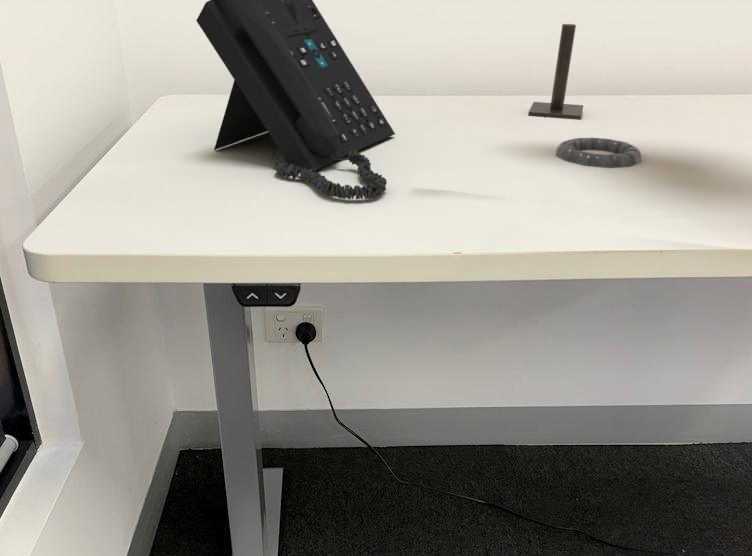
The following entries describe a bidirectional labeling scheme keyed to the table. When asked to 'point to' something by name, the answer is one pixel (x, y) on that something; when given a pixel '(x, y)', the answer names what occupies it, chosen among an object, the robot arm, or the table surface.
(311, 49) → the office phone
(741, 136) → the table surface
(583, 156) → the ring
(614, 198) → the table surface
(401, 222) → the table surface
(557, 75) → the stand
